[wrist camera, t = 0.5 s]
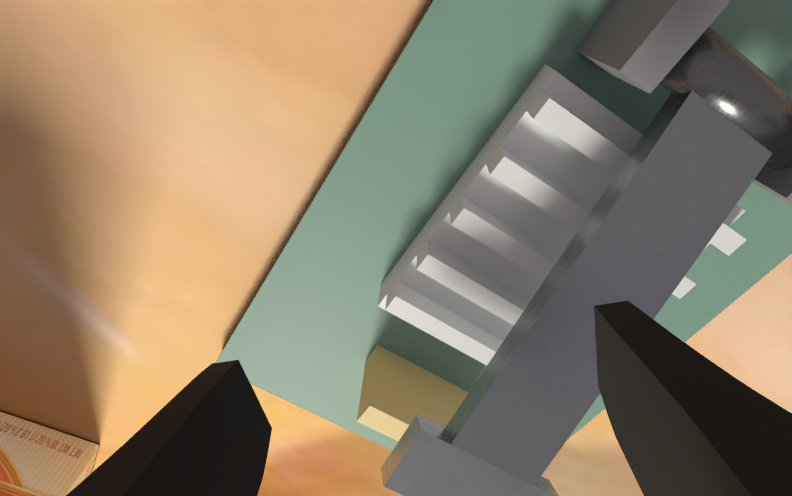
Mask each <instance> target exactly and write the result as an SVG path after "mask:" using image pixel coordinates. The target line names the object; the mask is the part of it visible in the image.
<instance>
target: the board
mask: <svg viewBox="0 0 792 496" xmlns="http://www.w3.org/2000/svg"><path fill="white" fill-rule="evenodd" d="M708 27H710V28H711V29H713V30H714V31H715V32H716V33H717V34H719V35H720V36H721V37H722V38H723V39H724V40H726V41H727V42H728V43H729V44H730V45H732V46H733V47H734V48H735V49H736V50H738V51H739V52H740V53H741V54H742V55H744V56H745V57H746V58H747V59H748V60H750V61H751V62H752V63H753V64H754V65H756V66H757V67H758V68H759V69H760V70H761V71H763V72H764V73H765V74H766V75H767V76H769V77H770V78H771V79H772V80H773V81H775V82H776V83H777V84H778V85H779V86H781V87H782V88H783V89H784V90H785V91H787V92H788V93H789V94H790V95H791V96H792V0H433V1H432V2H431V4H430V6H429V7H428V9H427V11H426V12H425V14H424V16H423V17H422V19H421V21H420V22H419V24H418V26H417V27H416V29H415V31H414V32H413V34H412V36H411V37H410V39H409V41H408V42H407V44H406V46H405V47H404V49H403V51H402V52H401V54H400V56H399V57H398V59H397V61H396V62H395V64H394V66H393V67H392V69H391V71H390V72H389V74H388V76H387V77H386V79H385V81H384V82H383V84H382V86H381V87H380V89H379V90H378V92H377V94H376V95H375V97H374V99H373V100H372V102H371V104H370V105H369V107H368V109H367V110H366V112H365V114H364V115H363V117H362V119H361V120H360V122H359V124H358V125H357V127H356V129H355V130H354V132H353V134H352V135H351V137H350V139H349V140H348V142H347V144H346V145H345V147H344V149H343V150H342V152H341V154H340V155H339V157H338V159H337V160H336V162H335V164H334V165H333V167H332V169H331V170H330V172H329V174H328V175H327V177H326V179H325V180H324V182H323V184H322V185H321V187H320V189H319V190H318V192H317V194H316V195H315V197H314V199H313V200H312V202H311V204H310V205H309V207H308V209H307V210H306V212H305V214H304V215H303V217H302V219H301V220H300V222H299V224H298V225H297V227H296V229H295V230H294V232H293V234H292V235H291V237H290V239H289V240H288V242H287V244H286V245H285V247H284V249H283V250H282V252H281V254H280V255H279V257H278V258H277V260H276V262H275V263H274V265H273V267H272V268H271V270H270V272H269V273H268V275H267V277H266V278H265V280H264V282H263V283H262V285H261V287H260V288H259V290H258V292H257V293H256V295H255V297H254V298H253V300H252V302H251V303H250V305H249V307H248V308H247V310H246V312H245V313H244V315H243V317H242V318H241V320H240V322H239V323H238V325H237V327H236V328H235V330H234V332H233V333H232V335H231V337H230V338H229V340H228V342H227V343H226V345H225V347H224V348H223V350H222V352H221V353H220V355H219V357H218V359H217V361H216V363H220V362H226V361H233V360H239V362H240V364H241V366H242V368H243V370H244V372H245V374H246V376H247V378H248V380H249V382H250V384H252V385H255V386H257V387H259V388H261V389H263V390H265V391H267V392H269V393H271V394H274V395H276V396H278V397H280V398H282V399H284V400H286V401H288V402H290V403H293V404H295V405H297V406H299V407H301V408H303V409H305V410H307V411H309V412H312V413H314V414H316V415H318V416H320V417H322V418H324V419H326V420H328V421H331V422H333V423H335V424H337V425H339V426H341V427H343V428H345V429H347V430H350V431H352V432H354V433H356V434H358V435H360V436H362V437H364V438H366V439H369V440H371V441H373V442H375V443H377V444H379V445H381V446H383V447H385V448H388V449H390V450H392V451H393V449H394V448H395V446H396V445H397V443H398V442H399V440H400V439H401V437H402V436H403V434H404V432H405V431H406V429H407V428H408V426H409V425H410V423H411V422H412V420H413V419H414V417H415V416H416V414H417V415H419V416H421V417H423V418H425V419H427V420H429V421H431V422H433V423H435V424H437V425H439V426H441V427H443V428H445V427H446V425H447V424H448V423H449V421H450V420H451V418H452V417H453V415H454V414H455V412H456V411H457V409H458V408H459V406H460V405H461V403H462V402H463V400H464V399H465V397H466V396H467V394H468V393H469V391H470V390H471V388H472V387H473V386H474V384H475V383H476V381H477V380H478V378H479V377H480V375H481V374H482V372H483V371H484V369H485V368H486V366H487V365H488V363H489V362H490V360H491V359H492V357H493V356H494V354H495V353H496V351H497V350H498V349H499V347H500V346H501V344H502V343H503V341H504V340H505V338H506V337H507V335H508V334H509V332H510V331H511V329H512V328H513V326H514V325H515V323H516V322H517V320H518V319H519V317H520V316H521V314H522V313H523V312H524V310H525V309H526V307H527V306H528V304H529V303H530V301H531V300H532V298H533V297H534V295H535V294H536V292H537V291H538V289H539V288H540V286H541V285H542V283H543V282H544V280H545V279H546V277H547V276H548V274H549V273H550V272H551V270H552V269H553V267H554V266H555V264H556V263H557V261H558V260H559V258H560V257H561V255H562V254H563V252H564V251H565V249H566V248H567V246H568V245H569V243H570V242H571V240H572V239H573V237H574V236H575V235H576V233H577V232H578V230H579V229H580V227H581V226H582V224H583V223H584V221H585V220H586V218H587V217H588V215H589V214H590V212H591V211H592V209H593V208H594V206H595V205H596V203H597V202H598V200H599V199H600V198H601V196H602V195H603V193H604V192H605V190H606V189H607V187H608V186H609V184H610V183H611V181H612V180H613V178H614V177H615V175H616V174H617V172H618V171H619V169H620V168H621V166H622V165H623V163H624V162H625V161H626V159H627V158H628V156H629V155H630V153H631V152H632V150H633V149H634V147H635V146H636V144H637V143H638V141H639V140H640V138H641V137H642V135H643V134H644V132H645V131H646V129H647V128H648V126H649V125H650V123H651V122H652V121H653V119H654V118H655V116H656V115H657V113H658V112H659V110H660V109H661V107H662V106H663V104H664V103H665V101H666V100H667V98H668V97H669V95H670V94H671V92H670V91H668V90H667V89H666V88H665V87H663V86H662V85H661V84H659V83H660V82H661V81H662V80H663V78H664V77H665V76H666V75H667V74H668V73H669V72H670V70H671V69H672V68H673V67H674V66H675V65H676V64H677V62H678V61H679V60H680V59H681V58H682V57H683V56H684V54H685V53H686V52H687V51H688V50H689V49H690V47H691V46H692V45H693V44H694V43H695V42H696V41H697V39H698V38H699V37H700V36H701V35H702V34H703V33H704V31H705V30H706V29H707V28H708ZM790 254H792V167H790V168H787V169H781V170H773V169H770V168H768V167H766V166H765V165H764V166H763V168H762V169H761V171H760V172H759V173H758V175H757V176H756V178H755V179H754V180H753V182H752V183H751V184H750V186H749V187H748V189H747V190H746V191H745V193H744V194H743V196H742V197H741V198H740V200H739V201H738V203H737V204H736V205H735V207H734V208H733V209H732V211H731V212H730V214H729V215H728V216H727V218H726V219H725V221H724V222H723V223H722V225H721V226H720V228H719V229H718V230H717V232H716V233H715V235H714V236H713V237H712V239H711V240H710V241H709V243H708V244H707V246H706V247H705V248H704V250H703V251H702V253H701V254H700V255H699V257H698V258H697V260H696V261H695V262H694V264H693V265H692V267H691V268H690V269H689V271H688V272H687V273H686V275H685V276H684V278H683V279H682V280H681V282H680V283H679V285H678V286H677V287H676V289H675V290H674V292H673V293H672V294H671V296H670V297H669V299H668V300H667V301H666V303H665V304H664V305H663V307H662V308H661V310H660V311H659V312H658V314H657V315H656V317H655V318H654V320H655V321H656V322H658V323H659V324H660V325H662V326H663V327H664V328H666V329H667V330H668V331H670V332H671V333H672V334H674V335H675V336H676V337H678V338H679V339H680V340H682V341H683V342H686V341H687V340H688V339H689V338H690V337H692V336H693V335H694V334H695V333H696V332H698V331H699V330H700V329H701V328H703V327H704V326H705V325H706V324H707V323H709V322H710V321H711V320H712V319H713V318H715V317H716V316H717V315H718V314H719V313H721V312H722V311H723V310H724V309H725V308H727V307H728V306H729V305H730V304H731V303H733V302H734V301H735V300H736V299H737V298H739V297H740V296H741V295H742V294H743V293H745V292H746V291H747V290H748V289H749V288H751V287H752V286H753V285H754V284H755V283H757V282H758V281H759V280H760V279H761V278H763V277H764V276H765V275H766V274H767V273H769V272H770V271H771V270H772V269H774V268H775V267H776V266H777V265H778V264H780V263H781V262H782V261H783V260H784V259H786V258H787V257H788V256H789V255H790ZM604 409H605V405H604V402H603V399H602V396H601V393H600V395H599V396H598V397H597V399H596V400H595V401H594V403H593V404H592V406H591V407H590V408H589V410H588V411H587V413H586V414H585V415H584V417H583V418H582V420H581V421H580V422H579V424H578V425H577V427H576V428H575V429H574V431H573V432H572V433H571V435H570V436H569V438H570V437H571V436H573V435H574V434H575V433H576V432H577V431H579V430H580V429H581V428H582V427H583V426H585V425H586V424H587V423H588V422H589V421H591V420H592V419H593V418H594V417H595V416H597V415H598V414H599V413H600V412H601V411H603V410H604ZM569 438H568V439H569ZM568 439H567V440H568ZM567 440H566V441H567Z"/></svg>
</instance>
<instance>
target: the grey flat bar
mask: <svg viewBox="0 0 792 496" xmlns="http://www.w3.org/2000/svg"><path fill="white" fill-rule="evenodd" d="M659 84H661V85H662V86H663V87H665V88H666V89H667V90H668V91H670V92H671V94H670V95H669V97H668V98H667V100H666V101H665V103H664V104H663V106H662V107H661V109H660V110H659V112H658V113H657V115H656V116H655V118H654V119H653V121H652V122H651V123H650V125H649V126H648V128H647V129H646V131H645V132H644V134H643V135H642V137H641V138H640V140H639V141H638V143H637V144H636V146H635V147H634V149H633V150H632V152H631V153H630V155H629V156H628V158H627V159H626V161H625V162H624V163H623V165H622V166H621V168H620V169H619V171H618V172H617V174H616V175H615V177H614V178H613V180H612V181H611V183H610V184H609V186H608V187H607V189H606V190H605V192H604V193H603V195H602V196H601V198H600V199H599V200H598V202H597V203H596V205H595V206H594V208H593V209H592V211H591V212H590V214H589V215H588V217H587V218H586V220H585V221H584V223H583V224H582V226H581V227H580V229H579V230H578V232H577V233H576V235H575V236H574V237H573V239H572V240H571V242H570V243H569V245H568V246H567V248H566V249H565V251H564V252H563V254H562V255H561V257H560V258H559V260H558V261H557V263H556V264H555V266H554V267H553V269H552V270H551V272H550V273H549V274H548V276H547V277H546V279H545V280H544V282H543V283H542V285H541V286H540V288H539V289H538V291H537V292H536V294H535V295H534V297H533V298H532V300H531V301H530V303H529V304H528V306H527V307H526V309H525V310H524V312H523V313H522V314H521V316H520V317H519V319H518V320H517V322H516V323H515V325H514V326H513V328H512V329H511V331H510V332H509V334H508V335H507V337H506V338H505V340H504V341H503V343H502V344H501V346H500V347H499V349H498V350H497V351H496V353H495V354H494V356H493V357H492V359H491V360H490V362H489V363H488V365H487V366H486V368H485V369H484V371H483V372H482V374H481V375H480V377H479V378H478V380H477V381H476V383H475V384H474V386H473V387H472V388H471V390H470V391H469V393H468V394H467V396H466V397H465V399H464V400H463V402H462V403H461V405H460V406H459V408H458V409H457V411H456V412H455V414H454V415H453V417H452V418H451V420H450V421H449V423H448V424H447V425H446V427H445V428H443V427H441V426H439V425H437V424H435V423H433V422H431V421H429V420H427V419H425V418H423V417H421V416H419V415H417V414H416V416H415V417H414V419H413V420H412V422H411V423H410V425H409V426H408V428H407V429H406V431H405V432H404V434H403V436H402V437H401V439H400V440H399V442H398V443H397V445H396V446H395V448H394V449H393V451H392V452H391V454H390V455H389V457H388V458H387V460H386V461H385V463H384V464H383V466H382V467H381V470H382V477H383V484H384V487H386V488H389V489H391V490H393V491H395V492H397V493H400V494H402V495H404V496H558V494H557V493H556V491H555V489H554V488H553V486H552V484H551V483H550V481H549V480H547V479H545V478H543V477H541V475H542V474H543V472H544V471H545V470H546V468H547V467H548V465H549V464H550V463H551V461H552V460H553V459H554V457H555V456H556V454H557V453H558V452H559V450H560V449H561V447H562V446H563V445H564V443H565V442H566V440H567V439H568V438H569V436H570V435H571V433H572V432H573V431H574V429H575V428H576V427H577V425H578V424H579V422H580V421H581V420H582V418H583V417H584V415H585V414H586V413H587V411H588V410H589V408H590V407H591V406H592V404H593V403H594V401H595V400H596V399H597V397H598V396H599V395H600V390H599V387H598V373H597V354H596V335H595V316H594V306H595V305H602V304H608V303H615V302H621V301H629V302H631V303H632V304H633V305H635V306H636V307H638V308H639V309H640V310H642V311H643V312H644V313H646V314H647V315H648V316H650V317H651V318H652V319H654V318H655V317H656V315H657V314H658V312H659V311H660V310H661V308H662V307H663V305H664V304H665V303H666V301H667V300H668V299H669V297H670V296H671V294H672V293H673V292H674V290H675V289H676V287H677V286H678V285H679V283H680V282H681V280H682V279H683V278H684V276H685V275H686V273H687V272H688V271H689V269H690V268H691V267H692V265H693V264H694V262H695V261H696V260H697V258H698V257H699V255H700V254H701V253H702V251H703V250H704V248H705V247H706V246H707V244H708V243H709V241H710V240H711V239H712V237H713V236H714V235H715V233H716V232H717V230H718V229H719V228H720V226H721V225H722V223H723V222H724V221H725V219H726V218H727V216H728V215H729V214H730V212H731V211H732V209H733V208H734V207H735V205H736V204H737V203H738V201H739V200H740V198H741V197H742V196H743V194H744V193H745V191H746V190H747V189H748V187H749V186H750V184H751V183H752V182H753V180H754V179H755V178H756V176H757V175H758V173H759V172H760V171H761V169H762V168H763V166H764V165H765V166H766V167H768V168H770V169H773V170H781V169H787V168H790V167H792V96H791V95H790V94H789V93H788V92H787V91H785V90H784V89H783V88H782V87H781V86H779V85H778V84H777V83H776V82H775V81H773V80H772V79H771V78H770V77H769V76H767V75H766V74H765V73H764V72H763V71H761V70H760V69H759V68H758V67H757V66H756V65H754V64H753V63H752V62H751V61H750V60H748V59H747V58H746V57H745V56H744V55H742V54H741V53H740V52H739V51H738V50H736V49H735V48H734V47H733V46H732V45H730V44H729V43H728V42H727V41H726V40H724V39H723V38H722V37H721V36H720V35H719V34H717V33H716V32H715V31H714V30H713V29H711V28H710V27H708V28H707V29H706V30H705V31H704V33H703V34H702V35H701V36H700V37H699V38H698V39H697V41H696V42H695V43H694V44H693V45H692V46H691V47H690V49H689V50H688V51H687V52H686V53H685V54H684V56H683V57H682V58H681V59H680V60H679V61H678V62H677V64H676V65H675V66H674V67H673V68H672V69H671V70H670V72H669V73H668V74H667V75H666V76H665V77H664V78H663V80H662V81H661V82H660V83H659Z"/></svg>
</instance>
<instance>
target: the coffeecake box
mask: <svg viewBox="0 0 792 496" xmlns="http://www.w3.org/2000/svg"><path fill="white" fill-rule="evenodd" d="M98 448H99V445H98V444H95V443H92V442H89V441H86V440H83V439H80V438H77V437H74V436H71V435H68V434H65V433H62V432H59V431H56V430H53V429H50V428H47V427H45V426H42V425H39V424H36V423H33V422H30V421H27V420H24V419H21V418H18V417H15V416H12V415H9V414H6V413H3V412H0V496H66V495H67V494H68V493H69V492H71V491H72V490H73V489H74V488H75V487H77V486H78V485H79V484H80V483H81V482H82V481H83V480H84V479H86V478H87V477H88V476H89V475H90V473H91V470H92V468H93V465H94V462H95V458H96V455H97V451H98Z"/></svg>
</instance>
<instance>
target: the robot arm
mask: <svg viewBox="0 0 792 496" xmlns="http://www.w3.org/2000/svg"><path fill="white" fill-rule="evenodd" d="M594 316H595V335H596V354H597V373H598V387H599V390H600V393H601V396H602V399H603V402H604V405H605V408H606V411H607V414H608V417H609V419H610V422H611V425H612V428H613V430H614V433H615V436H616V438H617V440H618V442H619V445H620V447H621V449H622V451H623V453H624V455H625V457H626V459H627V461H628V463H629V466H630V468H631V470H632V472H633V474H634V476H635V478H636V480H637V482H638V484H639V486H640V488H641V490H642V492H643V494H644V496H792V414H791V413H790V412H788V411H787V410H785V409H783V408H782V407H780V406H778V405H777V404H775V403H774V402H772V401H770V400H769V399H767V398H766V397H764V396H762V395H761V394H759V393H758V392H756V391H754V390H753V389H751V388H750V387H748V386H747V385H745V384H744V383H742V382H740V381H739V380H737V379H736V378H734V377H733V376H732V375H730V374H729V373H727V372H726V371H724V370H723V369H721V368H720V367H718V366H717V365H716V364H714V363H713V362H711V361H710V360H708V359H707V358H705V357H704V356H703V355H701V354H700V353H698V352H697V351H695V350H694V349H693V348H691V347H690V346H689V345H687V344H686V343H684V342H683V341H682V340H680V339H679V338H678V337H676V336H675V335H674V334H672V333H671V332H670V331H668V330H667V329H666V328H664V327H663V326H662V325H660V324H659V323H658V322H656V321H655V320H654V319H652V318H651V317H650V316H648V315H647V314H646V313H644V312H643V311H642V310H640V309H639V308H638V307H636V306H635V305H633V304H632V303H631V302H629V301H621V302H615V303H608V304H602V305H595V306H594ZM271 430H272V428H271V426H270V424H269V422H268V419H267V417H266V415H265V413H264V411H263V409H262V407H261V405H260V403H259V401H258V399H257V397H256V395H255V393H254V390H253V388H252V386H251V384H250V382H249V380H248V378H247V376H246V374H245V372H244V370H243V368H242V366H241V364H240V362H239V360H233V361H226V362H220V363H213V364H211V365H210V366H209V367H207V368H206V369H205V370H204V371H202V372H201V373H200V374H199V375H198V376H197V377H196V378H195V379H193V380H192V381H191V382H190V383H189V384H188V385H187V386H186V387H185V388H184V389H183V390H181V391H180V392H179V393H178V394H177V395H176V396H175V397H174V398H173V399H172V400H171V401H170V402H169V403H168V404H167V405H166V406H164V407H163V408H162V409H161V410H160V411H159V412H158V413H157V414H156V415H155V416H154V417H153V418H152V419H151V420H150V421H149V422H147V423H146V424H145V425H144V426H143V427H142V428H141V429H140V430H139V431H138V432H137V433H136V434H135V435H134V436H133V437H131V438H130V439H129V440H128V441H127V442H126V443H125V444H124V445H123V446H122V447H121V448H119V449H118V450H117V451H116V452H115V453H114V454H113V455H112V456H110V457H109V458H108V459H107V460H106V461H105V462H104V463H103V464H101V465H100V466H99V467H98V468H97V469H96V470H95V471H93V472H92V473H91V474H90V475H89V476H88V477H87V478H86V479H84V480H83V481H82V482H81V483H80V484H79V485H78V486H77V487H75V488H74V489H73V490H72V491H71V492H69V493H68V494H67V495H66V496H257V494H258V491H259V488H260V484H261V481H262V478H263V474H264V469H265V464H266V459H267V454H268V448H269V442H270V436H271Z"/></svg>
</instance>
